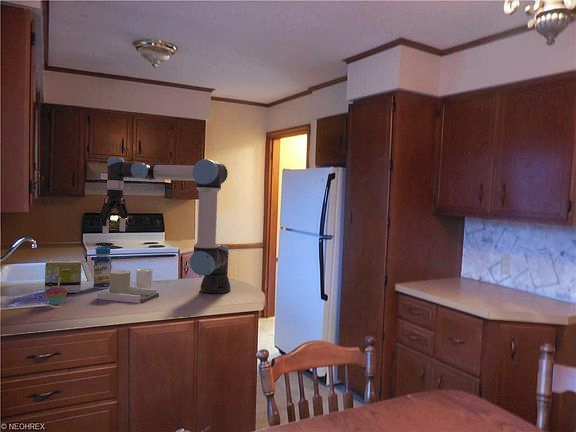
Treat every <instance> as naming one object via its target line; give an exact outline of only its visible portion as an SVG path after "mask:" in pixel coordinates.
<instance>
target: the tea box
mask: <svg viewBox="0 0 576 432" xmlns="http://www.w3.org/2000/svg"><path fill="white" fill-rule="evenodd" d="M82 262H83V260H82V259H47V261H46V262H45V269H44V270H45V272H44V273H45V274H44V292H45V291H46V290H47V289H49V288H51V287H58V281H59V277H60V278H61V279H60V285H59V287H63V288H65V289H66V290H67V294H69V293H70V294H71V293H76V294H77V293H78V294H79V293H80V292H81V287H82V284H81V283H82Z"/></svg>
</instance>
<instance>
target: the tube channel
mask: <svg viewBox="0 0 576 432" xmlns="http://www.w3.org/2000/svg"><path fill="white" fill-rule="evenodd" d="M155 293H157V289H155V288H151V289H146V288H137V287H133V286H130V294H119V293H109V291H107V292H105V291H97V292H96V299H97V300H104V301H105V300H107V301H114V302H115V301H116V302H124V303H136V304H140V303H141V297H142V296H146V295H152V294H155Z"/></svg>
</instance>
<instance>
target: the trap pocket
mask: <svg viewBox="0 0 576 432" xmlns="http://www.w3.org/2000/svg"><path fill="white" fill-rule="evenodd" d="M159 297H160V293H159V292H156V293H155V294H152V295H146V296H145V295H142V296H141V302H140V303H142V304H144V303H146V302H149V301H152V300H153V299H156V298H159Z"/></svg>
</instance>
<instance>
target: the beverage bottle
mask: <svg viewBox="0 0 576 432" xmlns="http://www.w3.org/2000/svg"><path fill="white" fill-rule="evenodd" d="M95 255H96V257H94V260H93V263H94V265H93V288H95V289H101V290H104V289H109V288H110V272H111V271H112V267H113V265H112V261H113V260H112V257H110V255H111V247H106V246H103V247H96V248H95Z"/></svg>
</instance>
